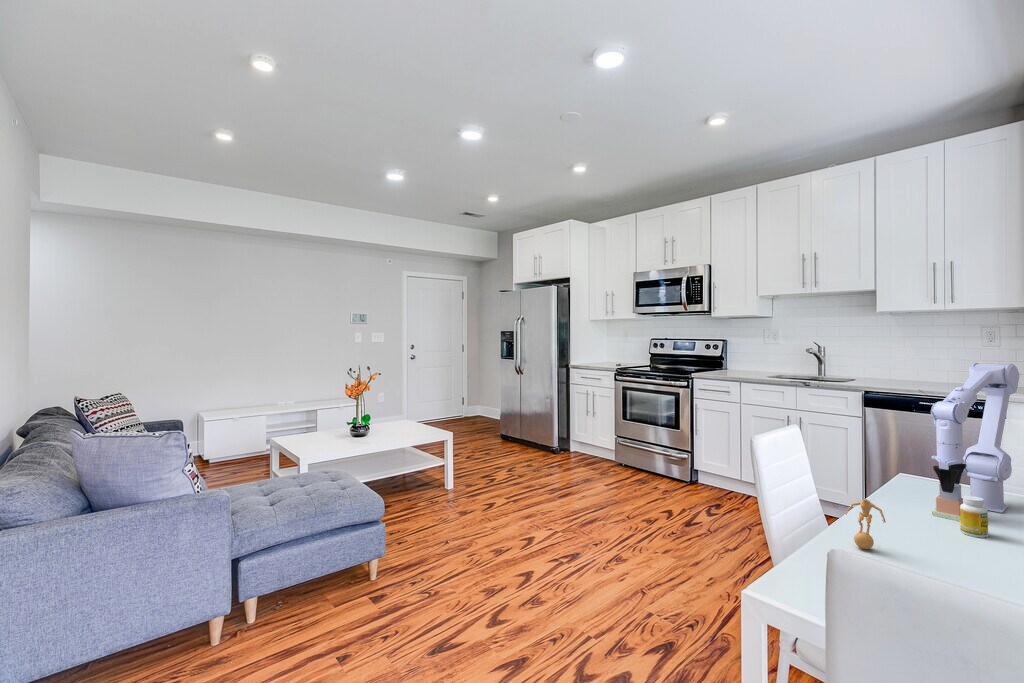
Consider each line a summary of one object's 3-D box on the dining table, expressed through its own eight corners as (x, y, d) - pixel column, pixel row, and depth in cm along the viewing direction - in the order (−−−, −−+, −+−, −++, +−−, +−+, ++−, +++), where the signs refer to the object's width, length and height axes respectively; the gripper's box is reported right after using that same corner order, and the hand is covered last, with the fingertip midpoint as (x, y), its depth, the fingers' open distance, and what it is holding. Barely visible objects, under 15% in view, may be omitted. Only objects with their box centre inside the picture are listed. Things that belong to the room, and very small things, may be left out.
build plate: (938, 510, 147) (938, 506, 147) (969, 516, 141) (969, 512, 141) (932, 515, 142) (931, 511, 142) (964, 522, 137) (964, 518, 137)
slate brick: (961, 498, 141) (961, 484, 141) (957, 501, 139) (957, 487, 139) (943, 495, 145) (943, 481, 145) (939, 497, 142) (939, 484, 142)
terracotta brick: (940, 507, 146) (940, 494, 146) (963, 512, 142) (963, 498, 142) (936, 511, 142) (936, 497, 142) (959, 516, 139) (959, 501, 139)
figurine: (841, 545, 123) (841, 498, 123) (849, 539, 127) (848, 493, 127) (882, 556, 117) (881, 506, 117) (888, 549, 121) (887, 500, 121)
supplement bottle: (964, 528, 132) (963, 493, 132) (991, 535, 128) (990, 498, 128) (957, 533, 129) (956, 497, 129) (984, 540, 125) (984, 502, 125)
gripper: (938, 437, 149) (939, 482, 149) (924, 444, 141) (925, 491, 141) (969, 441, 144) (970, 487, 144) (957, 448, 135) (958, 497, 135)
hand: (950, 489), depth 142 cm, fingers open, 6 cm apart
